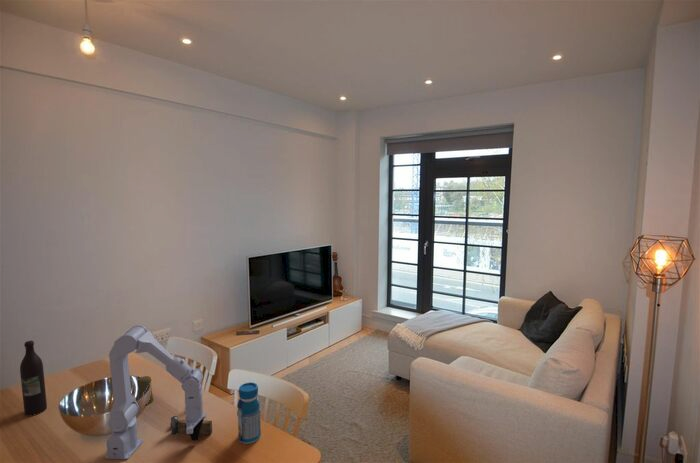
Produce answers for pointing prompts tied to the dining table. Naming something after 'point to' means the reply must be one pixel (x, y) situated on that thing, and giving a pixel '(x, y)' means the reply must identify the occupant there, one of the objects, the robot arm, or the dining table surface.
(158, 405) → the dining table surface
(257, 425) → the beverage bottle
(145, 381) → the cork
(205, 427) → the handle
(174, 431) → the hammer
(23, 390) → the wine bottle
